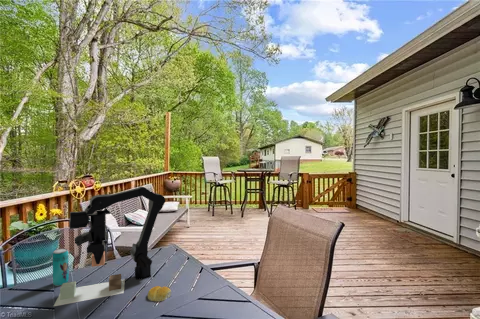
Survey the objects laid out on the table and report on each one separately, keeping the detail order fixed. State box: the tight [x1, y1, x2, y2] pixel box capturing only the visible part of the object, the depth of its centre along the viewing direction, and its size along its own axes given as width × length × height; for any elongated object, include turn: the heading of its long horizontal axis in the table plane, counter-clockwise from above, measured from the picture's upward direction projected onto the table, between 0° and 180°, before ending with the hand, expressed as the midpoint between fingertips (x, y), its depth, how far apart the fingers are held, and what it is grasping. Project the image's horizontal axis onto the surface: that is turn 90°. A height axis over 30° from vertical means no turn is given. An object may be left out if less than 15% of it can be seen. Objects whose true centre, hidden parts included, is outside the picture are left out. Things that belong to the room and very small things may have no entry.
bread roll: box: [147, 285, 172, 302], centre depth 103 cm, size 8×9×4 cm
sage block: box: [59, 281, 77, 300], centre depth 103 cm, size 4×4×4 cm
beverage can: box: [52, 248, 70, 287], centre depth 114 cm, size 6×6×15 cm
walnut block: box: [108, 273, 122, 291], centre depth 110 cm, size 4×4×4 cm
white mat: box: [52, 278, 126, 307], centre depth 106 cm, size 24×13×1 cm, turn 113°
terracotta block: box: [91, 251, 106, 268], centre depth 110 cm, size 4×4×4 cm
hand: (98, 261), depth 110 cm, fingers closed on terracotta block, 4 cm apart
